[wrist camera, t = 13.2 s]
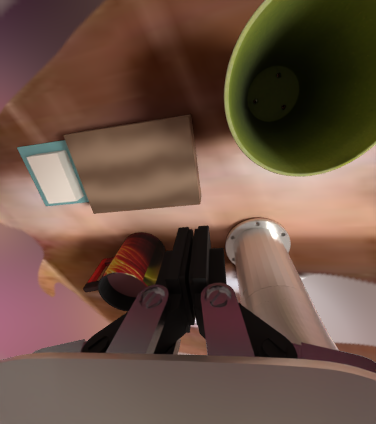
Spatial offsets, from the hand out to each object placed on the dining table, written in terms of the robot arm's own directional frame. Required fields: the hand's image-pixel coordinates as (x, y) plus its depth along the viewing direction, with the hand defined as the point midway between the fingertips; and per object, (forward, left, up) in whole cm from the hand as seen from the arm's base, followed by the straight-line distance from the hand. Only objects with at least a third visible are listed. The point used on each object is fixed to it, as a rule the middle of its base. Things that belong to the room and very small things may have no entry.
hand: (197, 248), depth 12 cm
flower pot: (+7, -10, -27) cm, 30 cm away
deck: (-1, +12, -27) cm, 30 cm away
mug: (-21, +18, -27) cm, 39 cm away
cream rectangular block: (-1, +28, -24) cm, 37 cm away
